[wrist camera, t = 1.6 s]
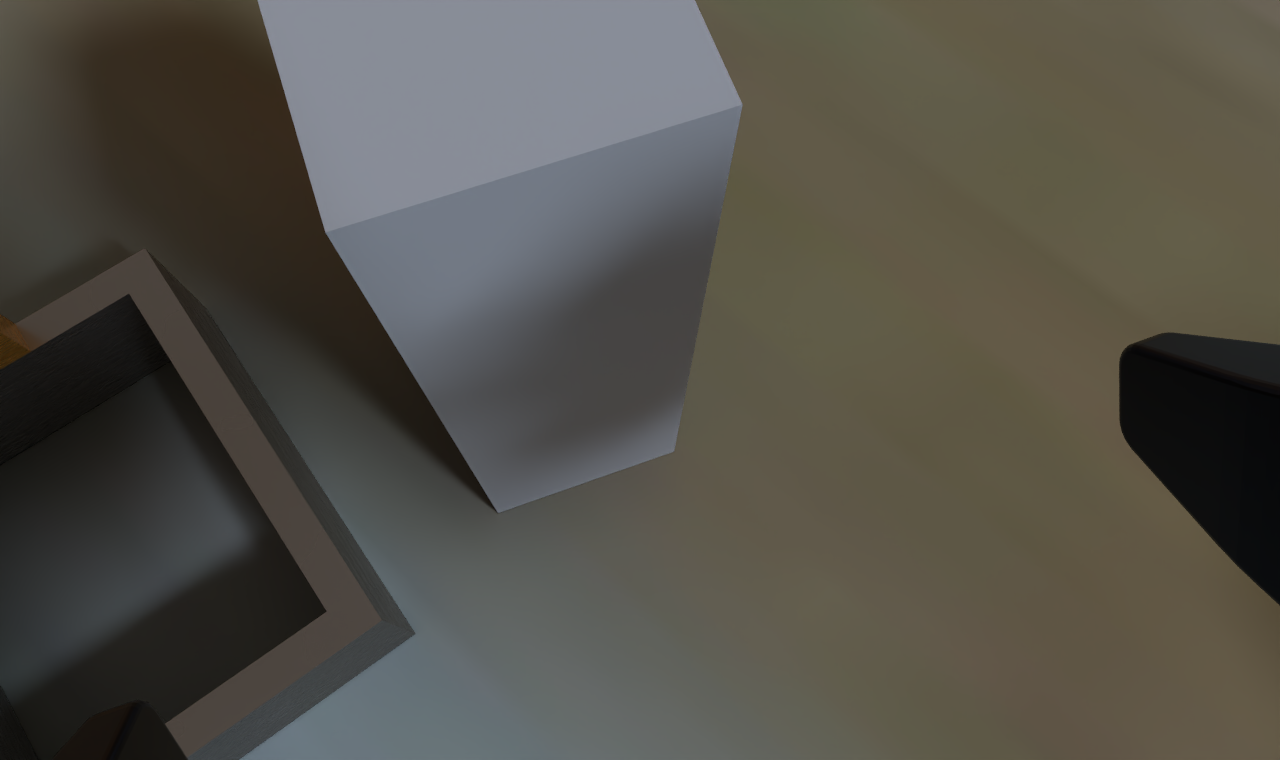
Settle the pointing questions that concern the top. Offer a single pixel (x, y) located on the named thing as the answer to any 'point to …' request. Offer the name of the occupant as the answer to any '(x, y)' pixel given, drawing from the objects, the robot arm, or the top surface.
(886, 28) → the top surface
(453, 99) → the grey rectangular prism
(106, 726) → the robot arm
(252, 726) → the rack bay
